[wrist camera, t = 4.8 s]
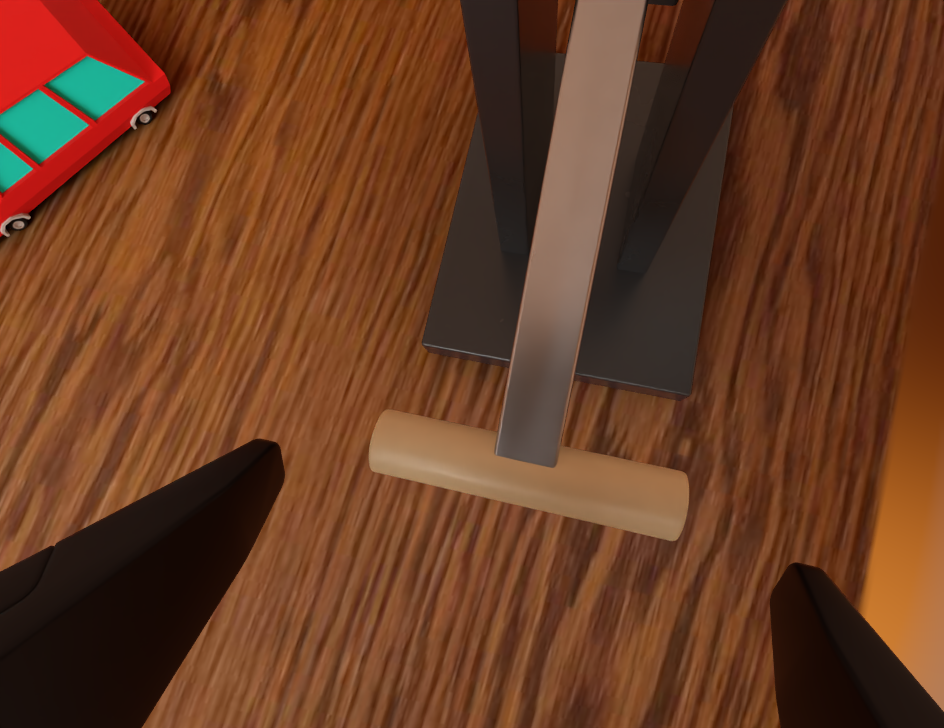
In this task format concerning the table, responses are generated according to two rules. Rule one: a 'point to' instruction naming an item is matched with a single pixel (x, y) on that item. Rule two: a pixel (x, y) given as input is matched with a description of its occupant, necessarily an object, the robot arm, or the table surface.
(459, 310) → the bracket
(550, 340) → the lever
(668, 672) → the table surface
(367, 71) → the table surface
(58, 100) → the toy car
